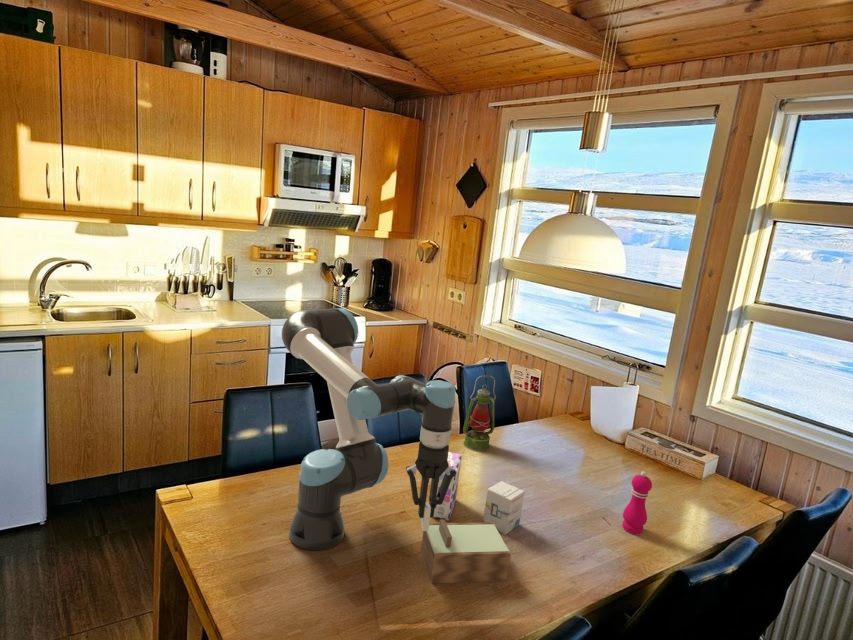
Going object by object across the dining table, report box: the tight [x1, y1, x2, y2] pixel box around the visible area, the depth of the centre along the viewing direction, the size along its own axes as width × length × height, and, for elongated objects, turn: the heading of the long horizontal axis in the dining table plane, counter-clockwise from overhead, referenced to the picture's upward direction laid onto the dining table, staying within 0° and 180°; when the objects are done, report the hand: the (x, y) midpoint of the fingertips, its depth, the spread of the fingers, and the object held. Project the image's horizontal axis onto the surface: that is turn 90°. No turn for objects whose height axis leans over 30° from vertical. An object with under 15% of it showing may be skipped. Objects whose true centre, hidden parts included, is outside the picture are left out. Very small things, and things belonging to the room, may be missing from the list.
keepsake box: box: [420, 522, 512, 584], centre depth 150 cm, size 20×14×9 cm
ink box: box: [482, 480, 525, 535], centre depth 172 cm, size 9×8×12 cm
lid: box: [426, 519, 510, 555], centre depth 149 cm, size 20×12×4 cm, turn 102°
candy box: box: [433, 451, 463, 522], centre depth 177 cm, size 14×6×16 cm, turn 168°
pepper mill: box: [621, 470, 653, 535], centre depth 177 cm, size 7×7×20 cm
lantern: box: [462, 374, 497, 452], centre depth 226 cm, size 14×11×30 cm
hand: (424, 527), depth 145 cm, fingers closed
